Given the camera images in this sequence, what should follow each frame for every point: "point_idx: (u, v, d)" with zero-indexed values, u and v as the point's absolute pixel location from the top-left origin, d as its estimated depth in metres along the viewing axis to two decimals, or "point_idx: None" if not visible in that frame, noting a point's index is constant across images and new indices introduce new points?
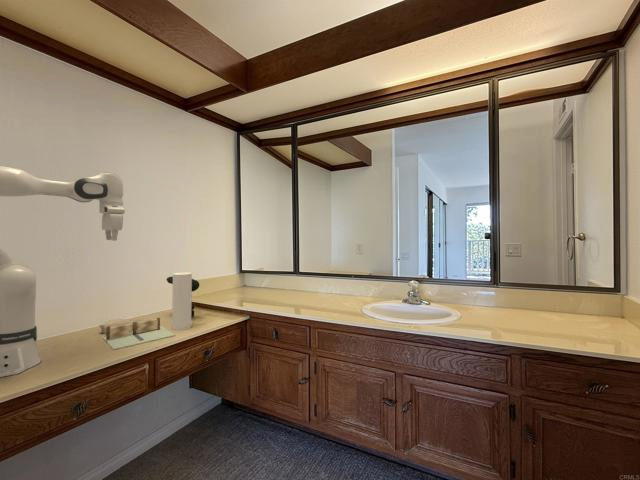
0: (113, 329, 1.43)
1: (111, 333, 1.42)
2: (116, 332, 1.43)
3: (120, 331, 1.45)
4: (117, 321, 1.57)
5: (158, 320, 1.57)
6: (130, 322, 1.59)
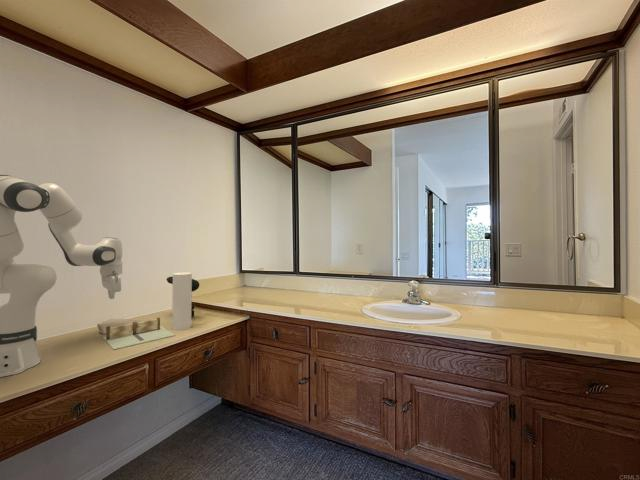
0: (113, 329, 1.43)
1: (111, 333, 1.42)
2: (116, 332, 1.43)
3: (120, 331, 1.45)
4: (115, 321, 1.58)
5: (158, 320, 1.57)
6: (127, 322, 1.58)
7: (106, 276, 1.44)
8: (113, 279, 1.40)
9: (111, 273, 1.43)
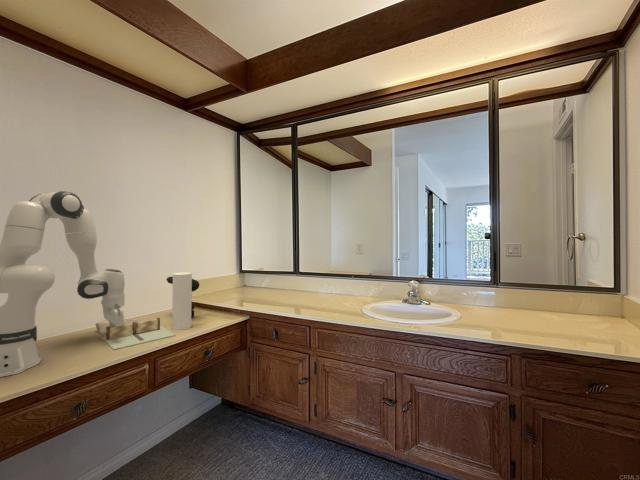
0: (113, 329, 1.42)
1: (111, 333, 1.42)
2: (116, 332, 1.43)
3: (120, 331, 1.45)
4: None
5: (158, 320, 1.57)
6: (125, 323, 1.58)
7: (108, 309, 1.41)
8: (116, 313, 1.37)
9: (113, 306, 1.41)
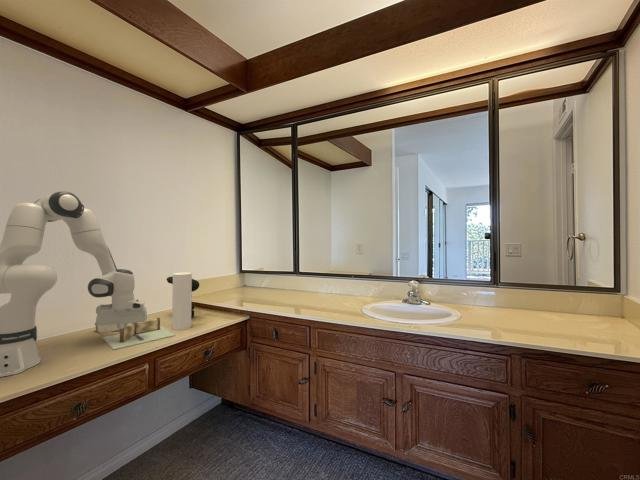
0: (125, 331, 1.41)
1: (124, 335, 1.40)
2: (127, 333, 1.42)
3: (129, 332, 1.43)
4: None
5: (158, 320, 1.57)
6: None
7: None
8: None
9: None
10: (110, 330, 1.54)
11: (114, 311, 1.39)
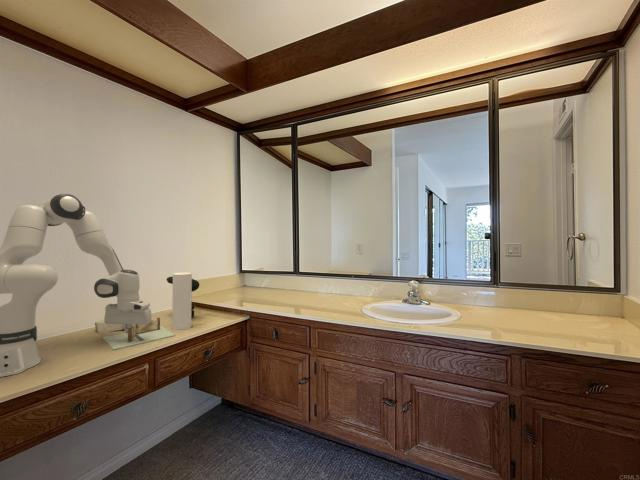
0: (132, 330, 1.41)
1: (131, 334, 1.41)
2: (132, 333, 1.43)
3: (133, 332, 1.44)
4: None
5: (158, 320, 1.57)
6: None
7: None
8: None
9: None
10: (109, 330, 1.54)
11: (119, 311, 1.40)
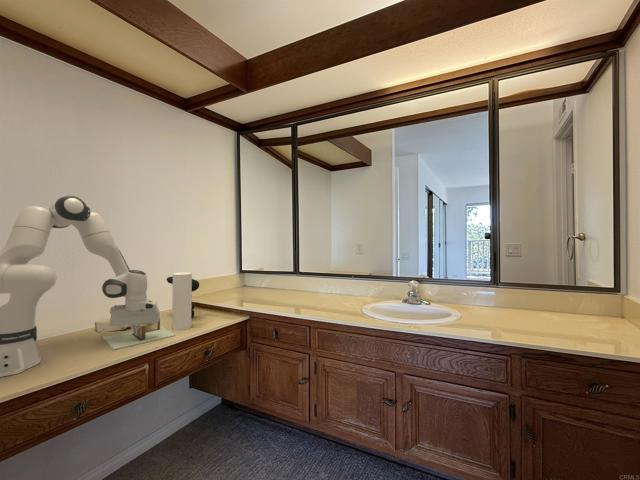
0: None
1: None
2: None
3: None
4: None
5: None
6: None
7: None
8: None
9: None
10: (108, 330, 1.54)
11: (127, 312, 1.40)
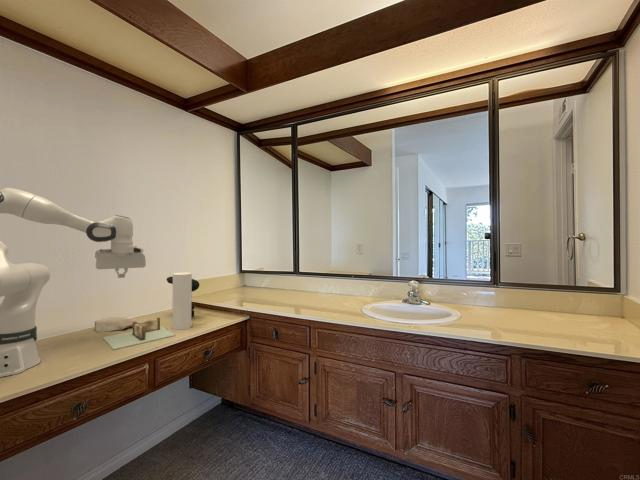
0: None
1: None
2: None
3: None
4: (112, 320, 1.60)
5: (158, 320, 1.57)
6: (120, 323, 1.57)
7: None
8: None
9: None
10: (106, 329, 1.55)
11: (114, 255, 1.42)
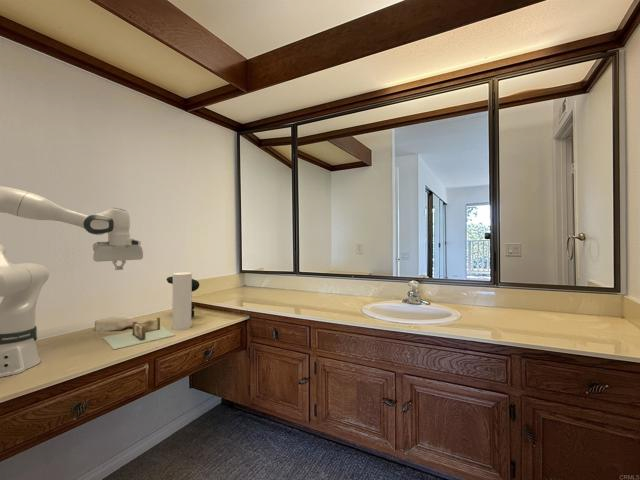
0: None
1: None
2: None
3: None
4: (111, 319, 1.60)
5: (158, 320, 1.57)
6: (118, 323, 1.57)
7: None
8: None
9: None
10: (105, 329, 1.55)
11: (112, 248, 1.43)
